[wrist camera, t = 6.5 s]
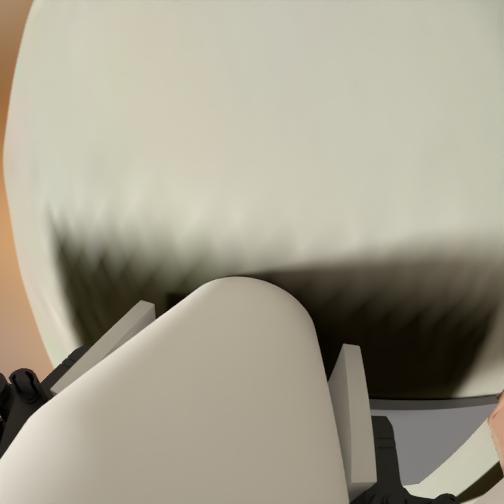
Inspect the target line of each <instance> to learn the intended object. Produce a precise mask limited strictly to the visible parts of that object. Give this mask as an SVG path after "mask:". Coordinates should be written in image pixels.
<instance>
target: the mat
mask: <svg viewBox="0 0 504 504" xmlns="http://www.w3.org/2000/svg"><path fill="white" fill-rule="evenodd" d="M498 404H499V402H498V400H497V398H496V396H488V397H478V398H468V399H453V400H424V401H407V400H377V399H369V406H370V413H371V415H372V416H387V418H388V420H389V421H390V423H391V424H392V426H393V430H394V436H395V438H394V440H395V443H396V449H397V456H398V464H399V472H400V480H401V484H402V486H405V485H412V484H419V483H420V482H421V481H423V480H424V479H425V478H426V477H427V476H429V475H430V474H431V473H432V472H433V471H435V470H436V469H437V468H438V467H439V466H440V465H442V464H443V463H444V462H445V461H446V460H447V459H448V458H449V457H450V456H451V455H452V454H454V453H455V452H456V451H457V450H458V449H459V448H460V447H461V446H462V445H463V444H464V443H465V442H466V441H467V440H468V438H469V437H470V436H471V435H472V434H473V433H474V432H475V431H476V430H477V429H478V428H479V427H480V425H481V424H482V423H483V422H484V421H485V420H486V418H487V417H488V416H489V415H490V414H491V412H492V411H493V410H494V409H495V407H496V406H497V405H498Z"/></svg>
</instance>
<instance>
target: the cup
mask: <svg viewBox="0 0 504 504" xmlns="http://www.w3.org/2000/svg"><path fill="white" fill-rule="evenodd" d="M0 504H349V498H348V491H347V484H346V478H345V472H344V466H343V460H342V454H341V449H340V443H339V438H338V432H337V427H336V422H335V417H334V412H333V407H332V402H331V397H330V392H329V388H328V383H327V379H326V374H325V369H324V365H323V361H322V356H321V352H320V348H319V343H318V339H317V335H316V331H315V327H314V324H313V321H312V319H311V317H310V315H309V314H308V312H307V311H306V309H305V308H304V307H303V306H302V304H301V303H300V302H299V301H298V300H297V299H295V298H294V297H293V296H292V295H291V294H289V293H288V292H286V291H285V290H283V289H281V288H279V287H278V286H276V285H273V284H271V283H268V282H266V281H263V280H259V279H255V278H249V277H226V278H221V279H216V280H213V281H211V282H208V283H206V284H204V285H202V286H201V287H199V288H198V289H197V290H195V291H194V292H193V293H191V294H190V295H189V296H187V297H186V298H185V299H183V300H182V301H180V302H179V303H178V304H176V305H175V306H174V307H172V308H171V309H170V310H168V311H167V312H166V313H164V314H163V315H162V316H160V317H159V318H158V319H156V320H155V321H154V322H152V323H151V324H150V325H148V326H147V327H146V328H144V329H143V330H142V331H140V332H139V333H138V334H137V335H135V336H134V337H133V338H131V339H130V340H129V341H127V342H126V343H125V344H123V345H122V346H121V347H119V348H118V349H117V350H115V351H114V352H113V353H111V354H110V355H109V356H107V357H106V358H105V359H103V360H102V361H101V362H99V363H98V364H97V365H95V366H94V367H93V368H91V369H90V370H89V371H87V372H86V373H85V374H83V375H82V376H81V377H80V378H78V379H77V380H76V381H74V382H73V383H72V384H70V385H69V386H68V387H66V388H65V389H64V390H63V391H61V392H60V393H59V394H57V395H56V396H55V397H53V398H52V399H51V400H50V401H48V402H47V403H46V404H44V405H43V406H42V407H41V408H39V409H38V410H37V411H36V412H35V413H34V414H33V415H32V416H31V417H30V418H29V419H28V420H27V422H26V423H25V424H24V426H23V427H22V429H21V430H20V432H19V433H18V435H17V436H16V438H15V439H14V441H13V442H12V443H11V445H10V446H9V448H8V449H7V451H6V452H5V453H4V455H3V456H2V458H1V459H0Z"/></svg>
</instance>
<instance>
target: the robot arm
mask: <svg viewBox="0 0 504 504" xmlns="http://www.w3.org/2000/svg"><path fill="white" fill-rule="evenodd" d="M155 320H156V319H155V305H154V304H152V303H148V302H145V301H140V302H139V303H137V304H136V305H135V306H134V307H133V308H132V309H131V310H130V311H129V312H128V313H127V314H126V315H125V316H124V317H123V318H121V319H120V320H119V321H118V322H117V323H116V324H115V325H114V326H113V327H112V328H111V329H110V330H109V331H108V332H107V333H106V334H105V335H104V336H103V337H102V338H101V339H100V340H99V341H98V342H96V343H95V344H94V345H93V346H92V347H89V346H87V345H84V346H82V347H80V348H78V349H76V350H74V351H73V352H72V353H71V354H70V355H69V356H68V358H66V359H65V360H64V361H63V362H62V364H60V365H59V366H58V367H56V368H55V369H54V370H53V371H52V373H50V374H49V375H48V376H47V377H46V378H45V379H44V380H43V381H42V382H41V383H40V382H39V380H38V378H37V376H36V374H35V373H34V372H33V371H32V370H30V369H26V368H21V369H18V370H16V371H14V372H13V373H12V374H11V375H10V376H9V380H10V382H11V383H12V384H9V383H8V382H7V380H6V378H5V377H4V375H3V374H2V373H0V416H1V418H0V459H1V458H2V456H3V455H4V453H5V452H6V451H7V449H8V448H9V446H10V445H11V443H12V442H13V441H14V439H15V438H16V436H17V435H18V433H19V432H20V430H21V429H22V427H23V426H24V424H25V423H26V422H27V420H28V419H29V418H30V417H31V416H32V415H33V414H34V413H35V412H36V411H37V410H38V409H39V408H41V407H42V406H43V405H44V404H46V403H47V402H48V401H50V400H51V399H52V398H53V397H55V396H56V395H57V394H59V393H60V392H61V391H63V390H64V389H65V388H66V387H68V386H69V385H70V384H72V383H73V382H74V381H76V380H77V379H78V378H80V377H81V376H82V375H83V374H85V373H86V372H87V371H89V370H90V369H91V368H93V367H94V366H95V365H97V364H98V363H99V362H101V361H102V360H103V359H105V358H106V357H107V356H109V355H110V354H111V353H113V352H114V351H115V350H117V349H118V348H119V347H121V346H122V345H123V344H125V343H126V342H127V341H129V340H130V339H131V338H133V337H134V336H135V335H137V334H138V333H139V332H140V331H142V330H143V329H144V328H146V327H147V326H148V325H150V324H151V323H152V322H154V321H155ZM328 388H329V392H330V397H331V402H332V407H333V412H334V417H335V422H336V427H337V432H338V438H339V443H340V449H341V454H342V460H343V466H344V472H345V478H346V484H347V491H348V498H349V504H460V502H459V500H458V499H457V497H455V496H454V495H452V494H448V493H446V494H441V495H439V496H438V497H436V498H435V499H430V498H423V497H417V496H413V495H411V494H409V492H408V491H407V490H406V489H405V488H403V486H402V484H401V480H400V472H399V464H398V456H397V449H396V443H395V440H394V438H395V436H394V430H393V426H392V424H391V423H390V421H389V420H388V418H387V416H372V415H371V413H370V406H369V398H368V392H367V385H366V379H365V373H364V367H363V361H362V356H361V351H360V346H356V345H349V344H343V346H342V349H341V351H340V354H339V357H338V359H337V362H336V364H335V367H334V369H333V372H332V374H331V377H330V379H329V382H328Z"/></svg>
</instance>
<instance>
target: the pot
mask: <svg viewBox="0 0 504 504" xmlns="http://www.w3.org/2000/svg"><path fill="white" fill-rule="evenodd" d="M497 400H498V402H499V404H498V405H497V406H496V407H495V409H494V410H493V411H492V412H491V414H490V415H489V416H488V424H489V427H490V429H491V438H492V440H493V443H494V446H495V449H496V451H497V454H498V457H499V460H500V464H501V467H502V470H503V474H504V390H503V392H502V393H501V394H500V396H499V397H498V398H497Z"/></svg>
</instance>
